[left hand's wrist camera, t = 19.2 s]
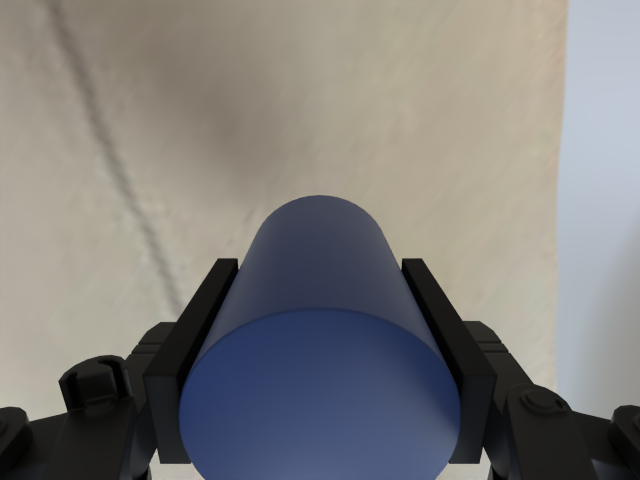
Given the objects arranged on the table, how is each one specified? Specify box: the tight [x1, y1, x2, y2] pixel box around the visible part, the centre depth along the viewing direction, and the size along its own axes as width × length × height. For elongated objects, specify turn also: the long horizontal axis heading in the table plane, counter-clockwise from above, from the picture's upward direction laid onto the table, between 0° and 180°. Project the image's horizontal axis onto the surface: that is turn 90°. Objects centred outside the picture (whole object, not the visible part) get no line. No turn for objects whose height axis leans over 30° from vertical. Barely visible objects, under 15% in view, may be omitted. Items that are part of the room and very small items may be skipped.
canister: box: [178, 195, 462, 480], centre depth 13 cm, size 6×6×9 cm
